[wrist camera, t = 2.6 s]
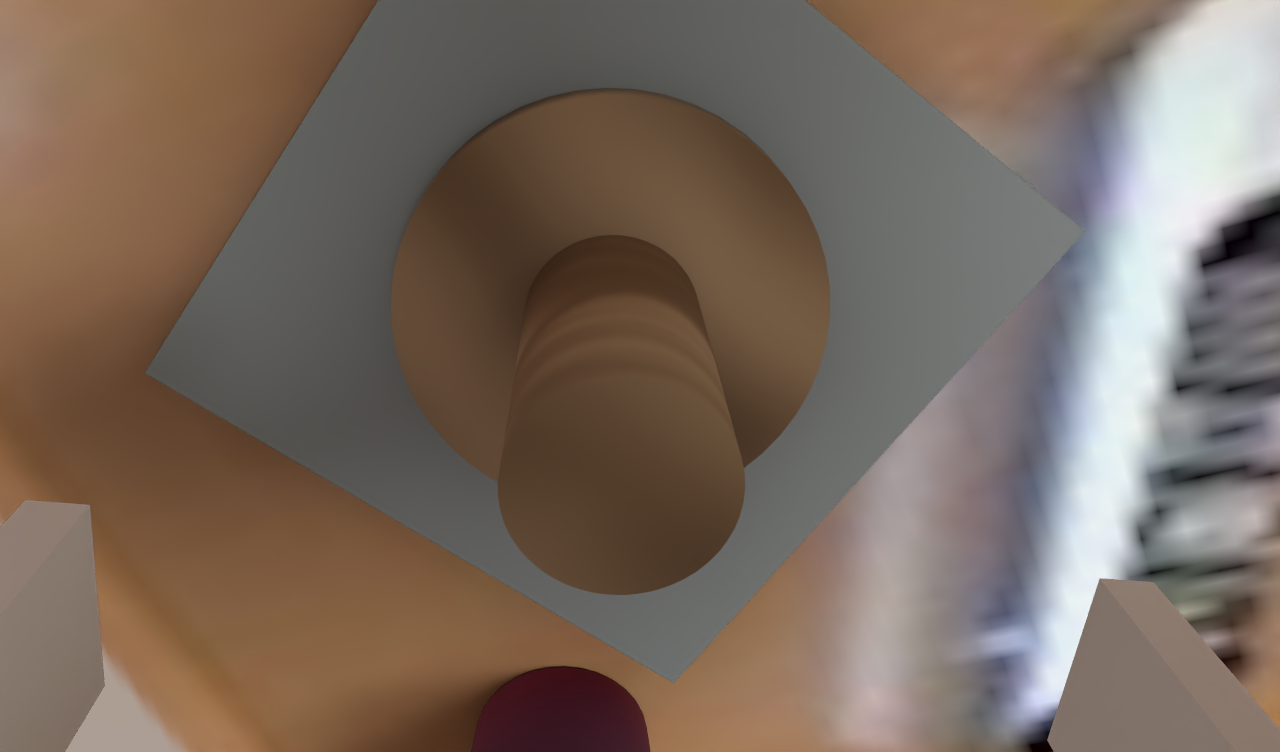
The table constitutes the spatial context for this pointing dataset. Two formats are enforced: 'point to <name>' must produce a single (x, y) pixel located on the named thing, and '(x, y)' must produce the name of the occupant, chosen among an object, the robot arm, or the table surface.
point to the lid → (611, 326)
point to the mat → (580, 60)
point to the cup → (561, 715)
